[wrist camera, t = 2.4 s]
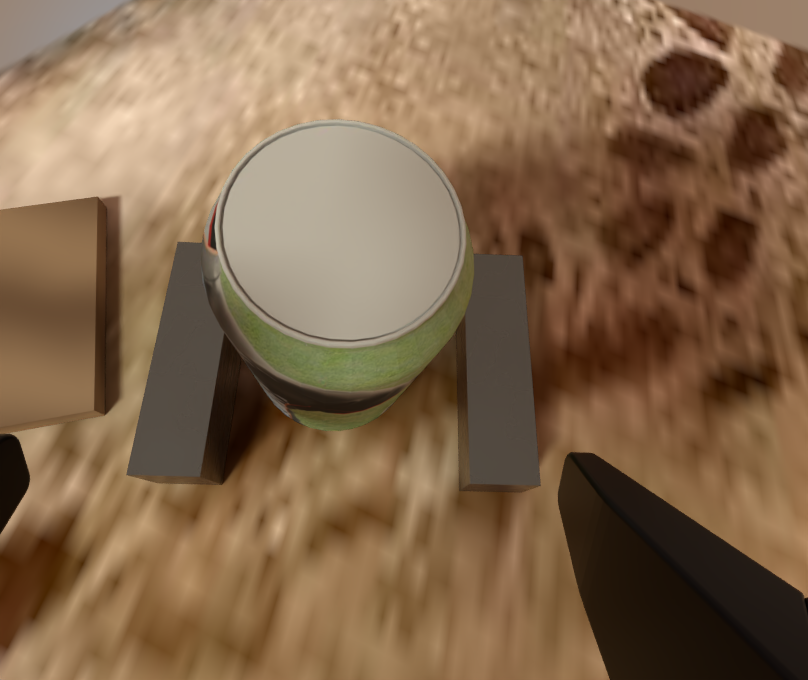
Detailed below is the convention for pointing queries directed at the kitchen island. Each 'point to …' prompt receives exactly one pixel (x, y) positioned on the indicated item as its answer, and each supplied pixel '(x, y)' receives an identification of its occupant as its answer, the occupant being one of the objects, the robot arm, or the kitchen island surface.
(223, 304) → the beverage can
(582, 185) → the kitchen island surface
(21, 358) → the walnut board
